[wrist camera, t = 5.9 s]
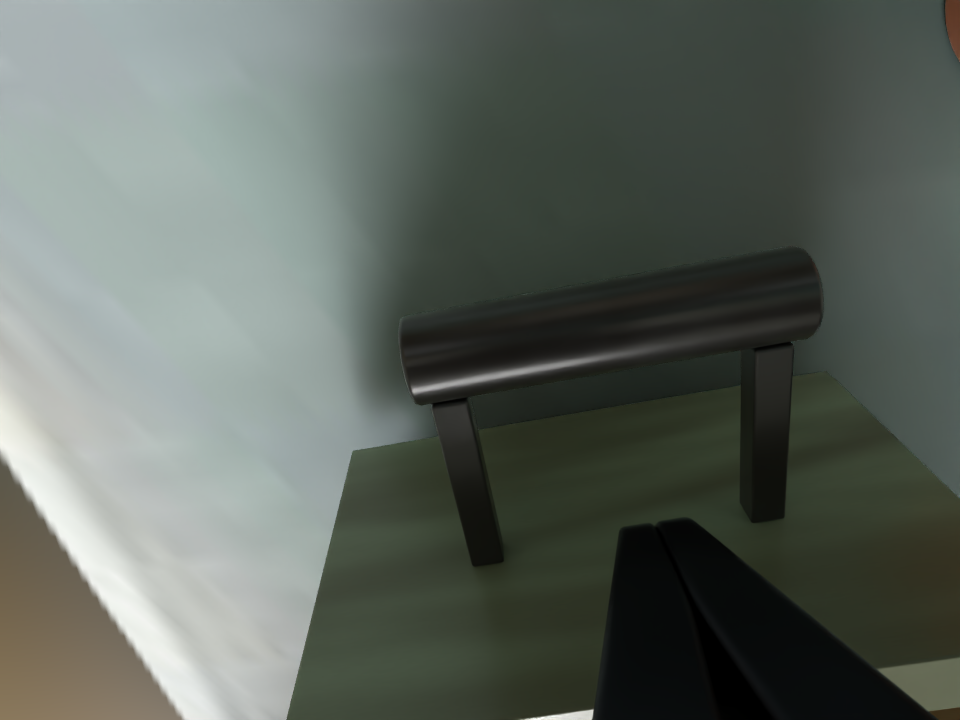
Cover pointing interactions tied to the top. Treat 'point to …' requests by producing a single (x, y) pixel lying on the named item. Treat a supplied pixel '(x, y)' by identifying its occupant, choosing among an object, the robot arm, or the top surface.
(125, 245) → the top surface
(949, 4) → the orange cylinder
